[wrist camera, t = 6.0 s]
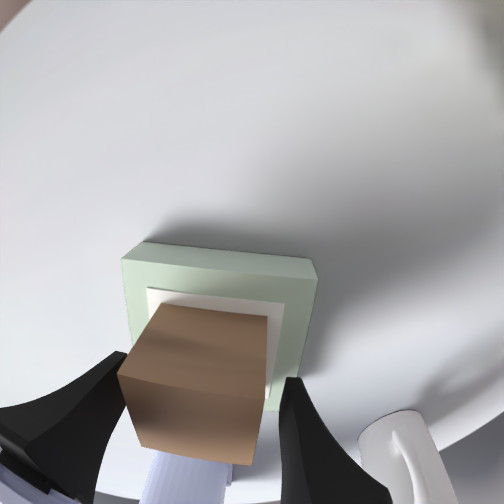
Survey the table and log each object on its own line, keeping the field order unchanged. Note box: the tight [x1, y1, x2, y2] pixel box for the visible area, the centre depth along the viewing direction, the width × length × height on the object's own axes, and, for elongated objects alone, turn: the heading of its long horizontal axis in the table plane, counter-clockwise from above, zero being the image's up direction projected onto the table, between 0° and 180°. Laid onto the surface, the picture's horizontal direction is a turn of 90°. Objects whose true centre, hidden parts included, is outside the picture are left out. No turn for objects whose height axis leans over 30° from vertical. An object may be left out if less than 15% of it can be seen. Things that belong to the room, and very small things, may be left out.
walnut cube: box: [117, 303, 267, 466], centre depth 11 cm, size 5×5×5 cm
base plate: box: [121, 242, 318, 411], centre depth 15 cm, size 9×9×3 cm
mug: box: [358, 410, 458, 504], centre depth 14 cm, size 10×7×12 cm, turn 20°
